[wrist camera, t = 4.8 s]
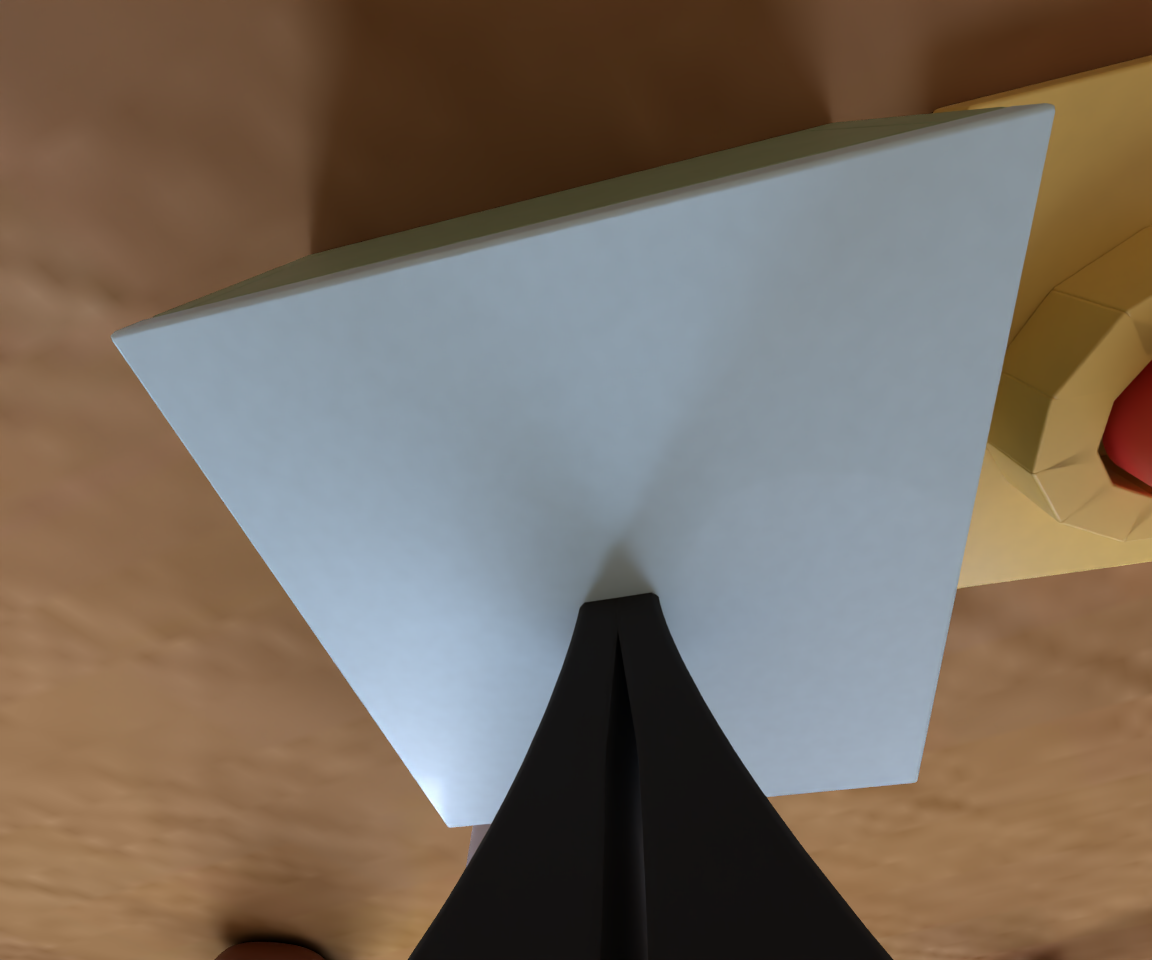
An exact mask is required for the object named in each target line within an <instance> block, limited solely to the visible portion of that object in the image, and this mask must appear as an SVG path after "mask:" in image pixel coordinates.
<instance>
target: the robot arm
mask: <svg viewBox="0 0 1152 960" xmlns="http://www.w3.org/2000/svg"><path fill="white" fill-rule="evenodd" d="M408 960H893V959H892V958H891V956H890V955H889V954H888V953H887V952H886V951H885V949H884V948H883V947H882V946H881V945H880V943H879V942H878V941H877V940H876V939H875V937H874V936H873V935H872V934H871V933H870V931H869V930H868V929H867V928H866V927H865V925H864V924H863V923H862V922H861V920H860V919H859V918H858V916H857V915H856V914H855V913H854V911H853V910H852V909H851V908H850V906H849V905H848V904H847V903H846V901H845V900H844V899H843V898H842V896H841V895H840V894H839V892H838V891H837V890H836V889H835V887H834V886H833V885H832V884H831V882H830V881H829V880H828V879H827V877H826V876H825V875H824V874H823V872H822V871H821V870H820V868H819V867H818V866H817V865H816V863H815V862H814V861H813V860H812V858H811V857H810V856H809V855H808V853H807V852H806V851H805V849H804V848H803V847H802V845H801V844H800V843H799V841H798V840H797V839H796V837H795V836H794V835H793V833H792V832H791V831H790V829H789V828H788V826H787V825H786V824H785V822H784V821H783V820H782V818H781V817H780V816H779V814H778V813H777V811H776V810H775V809H774V807H773V806H772V804H771V803H770V802H769V800H768V799H767V797H766V796H765V794H764V793H763V792H762V790H761V789H760V787H759V786H758V784H757V783H756V782H755V780H754V779H753V777H752V776H751V774H750V773H749V771H748V770H747V768H746V767H745V765H744V764H743V762H742V761H741V759H740V758H739V756H738V755H737V753H736V752H735V750H734V748H733V747H732V745H731V744H730V742H729V740H728V739H727V737H726V736H725V734H724V732H723V731H722V729H721V728H720V726H719V724H718V723H717V721H716V719H715V718H714V716H713V714H712V713H711V711H710V709H709V708H708V706H707V704H706V702H705V701H704V699H703V697H702V695H701V693H700V692H699V690H698V688H697V686H696V684H695V682H694V680H693V679H692V677H691V675H690V673H689V671H688V669H687V667H686V665H685V663H684V661H683V659H682V657H681V655H680V653H679V651H678V649H677V647H676V644H675V642H674V640H673V638H672V635H671V633H670V631H669V628H668V626H667V623H666V620H665V618H664V615H663V611H662V608H661V605H660V600H659V596H657V595H656V594H654V593H652V592H650V593H644V594H637V595H631V596H624V597H618V598H611V599H604V600H598V601H591V602H584V603H583V605H582V606H581V607H580V608H579V613H578V617H577V621H576V624H575V628H574V632H573V635H572V638H571V642H570V645H569V648H568V651H567V654H566V657H565V660H564V663H563V666H562V669H561V671H560V674H559V677H558V679H557V682H556V684H555V687H554V690H553V692H552V695H551V698H550V700H549V703H548V705H547V708H546V710H545V713H544V715H543V718H542V720H541V722H540V724H539V727H538V729H537V731H536V733H535V736H534V738H533V740H532V742H531V745H530V747H529V749H528V751H527V754H526V756H525V758H524V760H523V762H522V765H521V767H520V769H519V771H518V773H517V775H516V777H515V779H514V781H513V783H512V785H511V787H510V789H509V791H508V793H507V795H506V797H505V799H504V801H503V803H502V805H501V806H500V808H499V810H498V812H497V814H496V816H495V818H494V820H493V821H492V823H491V824H481V825H473V829H472V835H471V841H470V847H469V853H468V859H467V865H466V869H465V871H464V872H463V874H462V876H461V877H460V879H459V881H458V882H457V884H456V886H455V887H454V889H453V891H452V892H451V894H450V896H449V897H448V899H447V900H446V902H445V904H444V905H443V907H442V908H441V910H440V912H439V913H438V915H437V916H436V918H435V919H434V921H433V922H432V924H431V925H430V927H429V928H428V930H427V931H426V933H425V934H424V936H423V937H422V939H421V940H420V942H419V943H418V945H417V946H416V948H415V949H414V951H413V952H412V954H411V955H410V957H409V958H408Z"/></svg>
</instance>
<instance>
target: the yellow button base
mask: <svg viewBox="0 0 1152 960" xmlns="http://www.w3.org/2000/svg"><path fill="white" fill-rule="evenodd" d="M1042 103H1048V104H1052V105H1054V106H1055V115H1054V120H1053V124H1052V129H1051V134H1050V139H1049V144H1048V149H1047V153H1046V158H1045V163H1044V168H1043V173H1042V178H1041V183H1040V187H1039V192H1038V197H1037V202H1036V207H1035V212H1034V217H1033V221H1032V226H1031V231H1030V236H1029V241H1028V246H1027V250H1026V255H1025V260H1024V265H1023V270H1022V275H1021V280H1020V284H1019V289H1018V294H1017V299H1016V304H1015V309H1014V313H1013V318H1012V323H1011V328H1010V333H1009V338H1008V343H1007V347H1006V352H1005V357H1004V362H1003V367H1002V372H1001V377H1000V381H999V386H998V391H997V396H996V401H995V406H994V410H993V415H992V420H991V425H990V430H989V435H988V440H987V444H986V449H985V454H984V459H983V464H982V469H981V474H980V478H979V483H978V488H977V493H976V498H975V503H974V507H973V512H972V517H971V522H970V527H969V532H968V537H967V541H966V546H965V551H964V556H963V561H962V566H961V571H960V575H959V580H958V585H957V588H964V587H971V586H978V585H985V584H992V583H1000V582H1007V581H1014V580H1021V579H1028V578H1035V577H1042V576H1050V575H1057V574H1064V573H1071V572H1078V571H1085V570H1093V569H1100V568H1107V567H1114V566H1121V565H1128V564H1135V563H1143V562H1150V561H1152V487H1151V486H1149V485H1148V484H1146V483H1144V482H1143V481H1141V480H1139V479H1138V478H1136V477H1134V476H1133V475H1131V474H1129V473H1128V472H1126V471H1125V470H1123V469H1121V468H1120V467H1118V466H1117V465H1116V464H1115V463H1114V462H1113V461H1112V460H1111V459H1110V458H1109V456H1108V454H1107V453H1106V451H1105V448H1104V445H1103V438H1102V436H1103V433H1104V430H1105V427H1106V424H1107V421H1108V418H1109V415H1110V412H1111V409H1112V406H1113V402H1114V400H1115V399H1116V398H1117V397H1118V396H1119V395H1120V394H1121V393H1122V392H1123V391H1124V390H1125V388H1126V387H1127V386H1128V385H1129V384H1130V383H1131V382H1132V381H1133V380H1134V379H1135V378H1136V376H1137V375H1138V374H1139V373H1140V372H1141V371H1142V370H1143V369H1144V368H1145V367H1146V366H1147V364H1148V363H1149V362H1150V361H1151V360H1152V55H1150V56H1146V57H1142V58H1138V59H1134V60H1130V61H1126V62H1122V63H1118V64H1114V65H1110V66H1106V67H1102V68H1098V69H1094V70H1090V71H1086V72H1082V73H1078V74H1074V75H1070V76H1066V77H1062V78H1058V79H1054V80H1050V81H1046V82H1042V83H1038V84H1034V85H1030V86H1026V87H1022V88H1018V89H1014V90H1010V91H1006V92H1002V93H998V94H994V95H990V96H986V97H982V98H978V99H974V100H970V101H966V102H962V103H958V104H954V105H950V106H946V107H942V108H938V109H937V110H935V111H934V112H933V113H941V112H952V111H962V110H973V109H983V108H994V107H1011V106H1019V105H1030V104H1042Z"/></svg>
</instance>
